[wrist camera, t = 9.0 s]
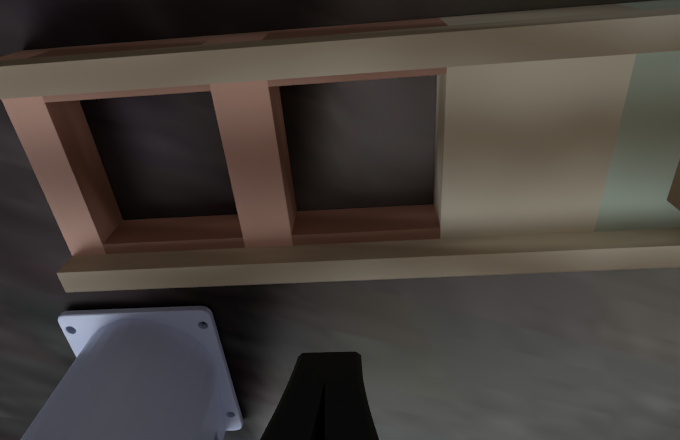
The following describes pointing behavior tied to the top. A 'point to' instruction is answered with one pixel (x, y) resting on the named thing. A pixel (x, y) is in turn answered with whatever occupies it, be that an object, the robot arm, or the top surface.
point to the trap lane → (450, 149)
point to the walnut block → (675, 189)
